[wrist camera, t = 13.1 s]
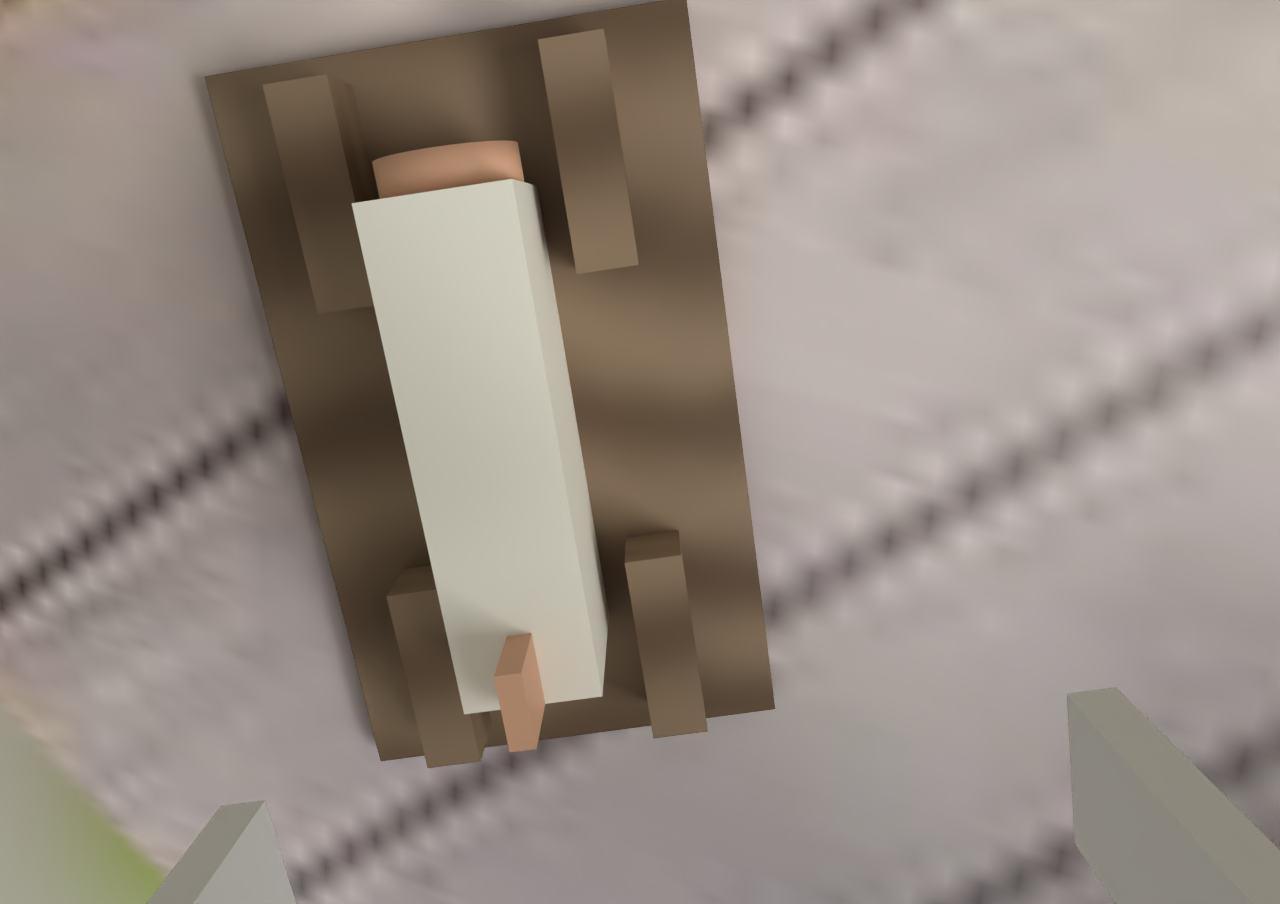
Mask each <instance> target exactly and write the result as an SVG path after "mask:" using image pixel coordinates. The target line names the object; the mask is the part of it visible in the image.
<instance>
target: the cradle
mask: <svg viewBox="0 0 1280 904" xmlns="http://www.w3.org/2000/svg"><path fill="white" fill-rule="evenodd" d="M205 80H206V84H207V88H208V92H209V95H210V99H211V103H212V107H213V111H214V115H215V119H216V123H217V127H218V130H219V134H220V138H221V142H222V146H223V150H224V154H225V158H226V161H227V165H228V169H229V173H230V177H231V181H232V185H233V189H234V193H235V196H236V200H237V204H238V208H239V212H240V216H241V220H242V224H243V228H244V231H245V235H246V239H247V243H248V247H249V251H250V255H251V259H252V263H253V266H254V270H255V274H256V278H257V282H258V286H259V290H260V294H261V298H262V301H263V305H264V309H265V313H266V317H267V321H268V325H269V329H270V333H271V336H272V340H273V344H274V348H275V352H276V356H277V360H278V364H279V368H280V371H281V375H282V379H283V383H284V387H285V391H286V395H287V399H288V403H289V406H290V410H291V414H292V418H293V422H294V426H295V430H296V434H297V438H298V441H299V445H300V449H301V453H302V457H303V461H304V465H305V469H306V473H307V476H308V480H309V484H310V488H311V492H312V496H313V500H314V504H315V508H316V511H317V515H318V519H319V523H320V527H321V531H322V535H323V539H324V543H325V546H326V550H327V554H328V558H329V562H330V566H331V570H332V574H333V578H334V581H335V585H336V589H337V593H338V597H339V601H340V605H341V609H342V613H343V616H344V620H345V624H346V628H347V632H348V636H349V640H350V644H351V648H352V651H353V655H354V659H355V663H356V667H357V671H358V675H359V679H360V683H361V686H362V690H363V694H364V698H365V702H366V706H367V710H368V714H369V718H370V721H371V725H372V729H373V733H374V737H375V741H376V745H377V749H378V753H379V756H380V760H381V761H386V760H394V759H401V758H409V757H416V756H424V755H425V758H426V763H427V767H428V768H433V767H441V766H448V765H456V764H463V763H471V762H479V761H481V758H482V755H483V751H484V748H485V747H492V746H499V745H507V744H508V742H507V738H506V733H505V728H504V723H503V718H502V714H501V710H494V711H487V712H479V713H471V714H464V711H463V707H462V702H461V698H460V693H459V689H458V684H457V680H456V675H455V671H454V666H453V662H452V657H451V652H450V648H449V643H448V639H447V634H446V630H445V625H444V621H443V616H442V612H441V607H440V603H439V598H438V593H437V589H436V584H435V580H434V575H433V571H432V566H431V562H430V557H429V553H428V548H427V544H426V539H425V535H424V530H423V525H422V521H421V516H420V512H419V507H418V503H417V498H416V494H415V489H414V485H413V480H412V476H411V471H410V466H409V462H408V457H407V453H406V448H405V444H404V439H403V435H402V430H401V426H400V421H399V417H398V412H397V408H396V403H395V398H394V394H393V389H392V385H391V380H390V376H389V371H388V367H387V362H386V358H385V353H384V349H383V344H382V340H381V335H380V330H379V326H378V321H377V317H376V312H375V308H374V303H373V299H372V294H371V290H370V285H369V281H368V276H367V271H366V267H365V262H364V258H363V253H362V249H361V244H360V240H359V235H358V231H357V226H356V222H355V217H354V213H353V208H352V203H357V202H364V201H370V200H377V199H380V197H379V193H378V188H377V183H376V179H375V174H374V169H373V164H372V161H374V160H376V159H379V158H382V157H385V156H389V155H393V154H398V153H402V152H407V151H413V150H418V149H424V148H431V147H437V146H445V145H452V144H461V143H470V142H482V141H516V142H518V147H519V153H520V159H521V164H522V170H523V176H524V182H525V183H529V184H532V185H536V186H537V189H538V195H539V201H540V207H541V213H542V219H543V225H544V231H545V237H546V243H547V249H548V255H549V261H550V267H551V273H552V279H553V285H554V291H555V297H556V303H557V309H558V314H559V320H560V326H561V332H562V338H563V344H564V350H565V356H566V362H567V368H568V374H569V380H570V386H571V392H572V398H573V404H574V410H575V416H576V422H577V428H578V434H579V439H580V445H581V451H582V457H583V463H584V469H585V475H586V481H587V487H588V493H589V499H590V505H591V511H592V517H593V523H594V529H595V535H596V541H597V547H598V553H599V558H600V564H601V570H602V576H603V582H604V588H605V594H606V600H607V606H608V612H609V621H608V633H607V646H606V658H605V670H604V683H603V695H602V697H594V698H587V699H579V700H571V701H564V702H556V703H548V704H545V708H544V713H543V718H542V723H541V729H540V734H539V739H538V740H544V739H552V738H560V737H567V736H575V735H582V734H590V733H597V732H605V731H612V730H620V729H627V728H635V727H643V726H650V725H652V731H653V737H654V738H660V737H668V736H676V735H683V734H691V733H698V732H706V731H707V723H706V718H710V717H718V716H725V715H733V714H741V713H748V712H756V711H763V710H771V709H775V705H774V697H773V689H772V681H771V673H770V665H769V657H768V649H767V641H766V633H765V625H764V617H763V609H762V601H761V593H760V585H759V577H758V569H757V561H756V552H755V544H754V536H753V528H752V520H751V512H750V504H749V496H748V488H747V480H746V472H745V464H744V456H743V448H742V440H741V432H740V424H739V416H738V408H737V400H736V392H735V384H734V376H733V368H732V360H731V352H730V344H729V336H728V328H727V320H726V312H725V304H724V296H723V288H722V280H721V272H720V264H719V256H718V248H717V240H716V232H715V224H714V216H713V208H712V200H711V192H710V184H709V176H708V168H707V160H706V152H705V144H704V136H703V128H702V120H701V112H700V104H699V96H698V88H697V80H696V72H695V64H694V56H693V48H692V40H691V32H690V24H689V16H688V8H687V0H665V1H659V2H653V3H647V4H641V5H635V6H629V7H623V8H617V9H611V10H605V11H599V12H593V13H586V14H580V15H574V16H568V17H562V18H556V19H550V20H544V21H538V22H532V23H526V24H520V25H514V26H508V27H502V28H496V29H490V30H484V31H478V32H472V33H465V34H459V35H453V36H447V37H441V38H435V39H429V40H423V41H417V42H411V43H405V44H399V45H393V46H387V47H381V48H375V49H369V50H363V51H357V52H350V53H344V54H338V55H332V56H326V57H320V58H314V59H308V60H302V61H296V62H290V63H284V64H278V65H272V66H266V67H260V68H254V69H248V70H242V71H236V72H229V73H223V74H217V75H211V76H205Z"/></svg>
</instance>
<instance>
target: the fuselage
mask: <svg viewBox="0 0 1280 904" xmlns="http://www.w3.org/2000/svg"><path fill="white" fill-rule="evenodd" d="M372 164H373V169H374V174H375V179H376V183H377V188H378V193H379V197H380V199H377V200H370V201H364V202H357V203H352V208H353V213H354V217H355V222H356V226H357V231H358V235H359V240H360V244H361V249H362V253H363V258H364V262H365V267H366V271H367V276H368V281H369V285H370V290H371V294H372V299H373V303H374V308H375V312H376V317H377V321H378V326H379V330H380V335H381V340H382V344H383V349H384V353H385V358H386V362H387V367H388V371H389V376H390V380H391V385H392V389H393V394H394V398H395V403H396V408H397V412H398V417H399V421H400V426H401V430H402V435H403V439H404V444H405V448H406V453H407V457H408V462H409V466H410V471H411V476H412V480H413V485H414V489H415V494H416V498H417V503H418V507H419V512H420V516H421V521H422V525H423V530H424V535H425V539H426V544H427V548H428V553H429V557H430V562H431V566H432V571H433V575H434V580H435V584H436V589H437V593H438V598H439V603H440V607H441V612H442V616H443V621H444V625H445V630H446V634H447V639H448V643H449V648H450V652H451V657H452V662H453V666H454V671H455V675H456V680H457V684H458V689H459V693H460V698H461V702H462V707H463V711H464V714H471V713H479V712H487V711H494V710H501V714H502V718H503V723H504V728H505V733H506V738H507V742H508V747H509V752H518V751H526V750H534V749H537V744H538V739H539V734H540V729H541V723H542V718H543V713H544V708H545V704H548V703H556V702H564V701H571V700H579V699H587V698H594V697H602V695H603V683H604V670H605V658H606V646H607V633H608V621H609V612H608V606H607V600H606V594H605V588H604V582H603V576H602V570H601V564H600V558H599V553H598V547H597V541H596V535H595V529H594V523H593V517H592V511H591V505H590V499H589V493H588V487H587V481H586V475H585V469H584V463H583V457H582V451H581V445H580V439H579V434H578V428H577V422H576V416H575V410H574V404H573V398H572V392H571V386H570V380H569V374H568V368H567V362H566V356H565V350H564V344H563V338H562V332H561V326H560V320H559V314H558V309H557V303H556V297H555V291H554V285H553V279H552V273H551V267H550V261H549V255H548V249H547V243H546V237H545V231H544V225H543V219H542V213H541V207H540V201H539V195H538V189H537V186H536V185H532V184H529V183H525V182H524V176H523V170H522V164H521V159H520V153H519V147H518V142H516V141H482V142H470V143H461V144H452V145H445V146H437V147H431V148H424V149H418V150H413V151H407V152H402V153H398V154H393V155H389V156H385V157H382V158H379V159H376V160H374V161H372Z"/></svg>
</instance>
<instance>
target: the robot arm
mask: <svg viewBox="0 0 1280 904" xmlns="http://www.w3.org/2000/svg"><path fill="white" fill-rule="evenodd" d="M1067 708H1068V726H1069V745H1070V763H1071V782H1072V801H1073V819H1074V838H1075V845H1076V846H1077V848H1078V849H1079V851H1080V852H1081V854H1082V855H1083V857H1084V858H1085V860H1086V861H1087V863H1088V864H1089V865H1090V867H1091V868H1092V870H1093V871H1094V873H1095V874H1096V876H1097V877H1098V879H1099V880H1100V882H1101V883H1102V885H1103V886H1104V888H1105V889H1106V890H1107V892H1108V893H1109V895H1110V896H1111V898H1112V899H1113V901H1114V902H1115V904H1280V850H1279V849H1278V848H1277V847H1276V846H1275V845H1274V844H1273V843H1272V842H1271V841H1270V840H1269V839H1268V838H1267V837H1266V836H1265V835H1264V834H1263V833H1262V832H1261V831H1260V830H1259V829H1258V828H1257V827H1256V826H1255V825H1254V824H1253V823H1252V822H1251V821H1250V820H1249V819H1248V818H1247V817H1246V816H1245V815H1244V814H1243V813H1242V812H1241V811H1240V810H1239V809H1238V808H1237V807H1236V806H1235V805H1234V804H1233V803H1232V802H1231V801H1230V800H1229V799H1228V798H1227V797H1226V796H1225V795H1224V794H1223V793H1222V792H1221V791H1220V790H1219V789H1218V788H1217V787H1216V786H1215V785H1214V784H1213V783H1212V782H1211V781H1210V780H1209V779H1208V778H1207V777H1206V776H1205V775H1204V774H1203V773H1202V772H1201V771H1200V770H1199V769H1198V768H1197V767H1196V766H1195V765H1194V764H1193V763H1192V762H1191V761H1190V760H1189V759H1188V758H1187V757H1186V756H1185V755H1184V754H1183V753H1182V752H1181V751H1180V750H1179V749H1178V748H1177V747H1176V746H1175V745H1174V744H1173V743H1172V742H1171V741H1170V740H1169V739H1168V738H1167V737H1166V736H1165V735H1164V734H1163V733H1162V732H1161V731H1160V730H1159V729H1158V728H1157V727H1155V726H1154V725H1153V724H1152V723H1151V722H1150V721H1149V720H1148V719H1147V718H1146V717H1145V716H1144V715H1143V714H1142V713H1141V712H1140V711H1139V710H1138V709H1137V708H1136V707H1135V706H1134V705H1133V704H1132V703H1131V702H1130V701H1129V700H1128V699H1127V698H1126V697H1125V696H1124V695H1123V694H1122V693H1121V692H1120V691H1119V690H1118V689H1117V688H1108V689H1101V690H1093V691H1086V692H1078V693H1071V694H1067ZM147 904H296V902H295V899H294V896H293V892H292V889H291V886H290V882H289V879H288V875H287V872H286V869H285V865H284V862H283V859H282V855H281V852H280V849H279V845H278V842H277V838H276V835H275V832H274V828H273V825H272V822H271V818H270V815H269V812H268V808H267V805H266V801H265V800H264V801H256V802H249V803H241V804H234V805H226V806H221V807H220V808H219V809H218V811H217V812H216V813H215V815H214V816H213V817H212V819H211V820H210V821H209V823H208V824H207V825H206V826H205V828H204V829H203V830H202V832H201V833H200V834H199V836H198V837H197V838H196V840H195V841H194V842H193V843H192V845H191V846H190V847H189V849H188V850H187V851H186V853H185V854H184V855H183V857H182V858H181V859H180V860H179V862H178V863H177V864H176V866H175V867H174V868H173V870H172V871H171V872H170V874H169V875H168V876H167V877H166V879H165V880H164V881H163V883H162V884H161V885H160V887H159V888H158V889H157V891H156V892H155V893H154V894H153V896H152V897H151V898H150V900H149V901H148V902H147Z"/></svg>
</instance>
